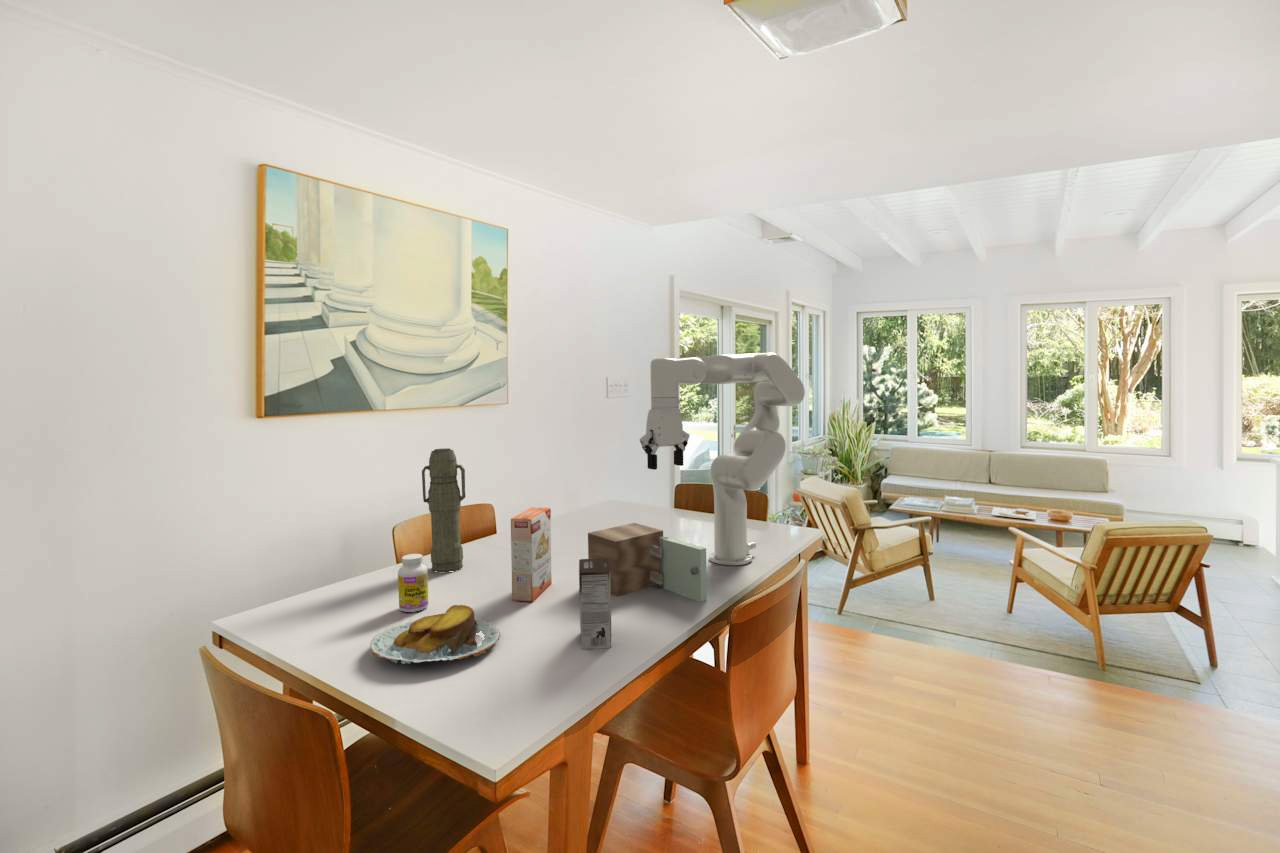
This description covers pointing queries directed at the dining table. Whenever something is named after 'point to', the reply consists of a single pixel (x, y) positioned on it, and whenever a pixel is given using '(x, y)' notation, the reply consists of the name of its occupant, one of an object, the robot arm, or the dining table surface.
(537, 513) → the cracker box
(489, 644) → the food on plate
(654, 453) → the robot arm
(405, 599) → the supplement bottle
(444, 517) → the thermos
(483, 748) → the dining table surface
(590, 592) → the coffee box
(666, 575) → the door
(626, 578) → the cabinet
